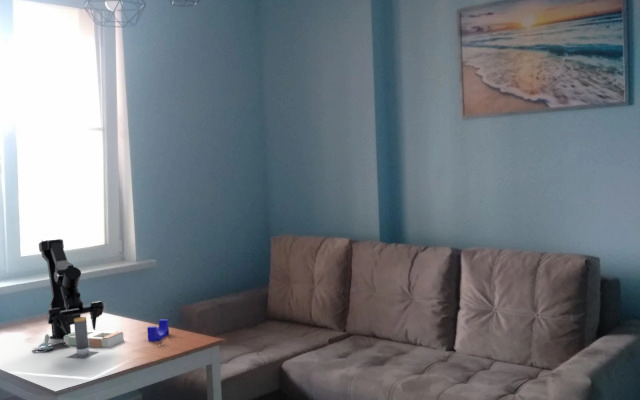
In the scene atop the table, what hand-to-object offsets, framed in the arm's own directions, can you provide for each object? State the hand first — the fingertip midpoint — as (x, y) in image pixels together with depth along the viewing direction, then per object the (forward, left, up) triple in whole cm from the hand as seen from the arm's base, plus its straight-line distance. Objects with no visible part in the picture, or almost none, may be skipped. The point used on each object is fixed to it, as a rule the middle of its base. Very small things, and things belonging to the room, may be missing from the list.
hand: (81, 331), depth 235 cm
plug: (0, 0, -8) cm, 8 cm away
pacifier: (-20, +2, -9) cm, 22 cm away
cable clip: (+14, +25, -9) cm, 30 cm away
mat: (0, 0, -9) cm, 9 cm away
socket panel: (-7, +14, -9) cm, 18 cm away
